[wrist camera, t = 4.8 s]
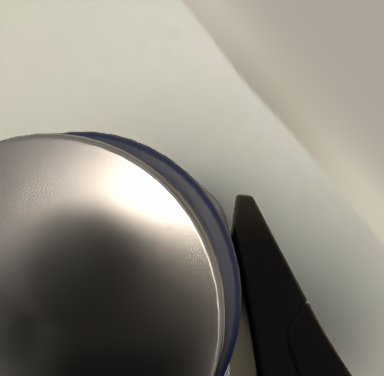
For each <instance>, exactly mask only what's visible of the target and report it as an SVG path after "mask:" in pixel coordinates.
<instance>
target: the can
mask: <svg viewBox="0 0 384 376" xmlns="http://www.w3.org/2000/svg"><path fill="white" fill-rule="evenodd" d="M240 316H241V281H240V273H239V266H238V262H237V258H236V254H235V250H234V246H233V243H232V239H231V235H230V231H229V228H228V224H227V220H226V216H225V214H224V211H223V209H222V208H221V206H220V204H219V203H218V202H217V200H216V199H215V198H214V197H213V196H212V195H211V194H210V193H208V192H207V191H206V190H205V189H204V188H203V187H202V186H201V185H200V184H199V183H198V182H197V181H195V180H194V179H193V178H192V177H191V176H190V175H189V174H188V173H187V172H186V171H184V170H183V169H182V168H181V167H179V166H178V165H177V164H176V163H174V162H173V161H172V160H170V159H169V158H168V157H166V156H164V155H162V154H161V153H159V152H157V151H156V150H154V149H152V148H150V147H148V146H146V145H143V144H141V143H138V142H136V141H134V140H131V139H127V138H124V137H120V136H116V135H112V134H105V133H97V132H67V133H52V134H31V135H24V136H17V137H13V138H10V139H6V140H2V141H0V376H224V374H225V371H226V369H227V366H228V364H229V362H230V359H231V357H232V354H233V351H234V347H235V343H236V340H237V336H238V331H239V324H240Z"/></svg>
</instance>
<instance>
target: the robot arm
mask: <svg viewBox="0 0 384 376" xmlns="http://www.w3.org/2000/svg"><path fill="white" fill-rule="evenodd" d="M231 239H232V243H233V246H234V250H235V254H236V258H237V262H238V266H239V273H240V281H241V316H240V324H239V331H238V336H237V340H236V343H235V347H234V351H233V354H232V357H231V359H230V376H352V375H351V374H350V372H349V371H348V369H347V368H346V366H345V365H344V363H343V361H342V360H341V358H340V357H339V355H338V354H337V352H336V351H335V349H334V347H333V346H332V344H331V343H330V341H329V339H328V338H327V336H326V334H325V332H324V331H323V329H322V327H321V325H320V324H319V322H318V320H317V318H316V316H315V314H314V313H313V311H312V309H311V307H310V305H309V303H306V302H307V299H306V298H305V296H304V294H303V292H302V290H301V288H300V286H299V284H298V282H297V280H296V279H295V277H294V275H293V273H292V271H291V269H290V267H289V265H288V263H287V261H286V260H285V258H284V256H283V254H282V252H281V250H280V248H279V246H278V244H277V242H276V241H275V239H274V237H273V235H272V233H271V231H270V229H269V227H268V225H267V223H266V222H265V220H264V218H263V216H262V214H261V212H260V210H259V208H258V206H257V204H256V203H255V201H254V199H253V197H252V196H247V195H237V196H236V201H235V208H234V214H233V222H232V231H231Z"/></svg>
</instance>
